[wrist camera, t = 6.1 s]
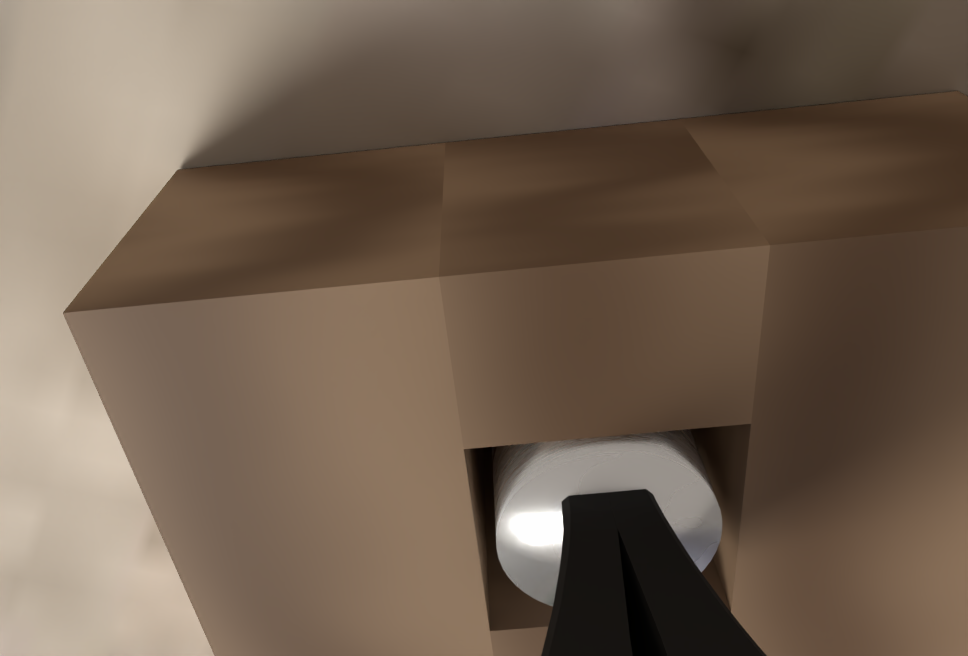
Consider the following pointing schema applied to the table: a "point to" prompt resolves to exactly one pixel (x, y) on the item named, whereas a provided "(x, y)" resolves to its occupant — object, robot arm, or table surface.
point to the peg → (587, 470)
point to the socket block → (554, 371)
